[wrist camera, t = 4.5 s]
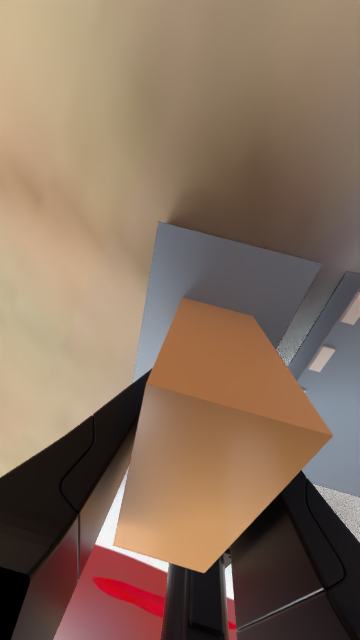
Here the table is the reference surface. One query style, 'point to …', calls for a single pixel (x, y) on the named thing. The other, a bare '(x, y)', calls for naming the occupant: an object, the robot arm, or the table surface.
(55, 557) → the robot arm
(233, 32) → the table surface
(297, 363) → the ticket board
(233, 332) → the stub
